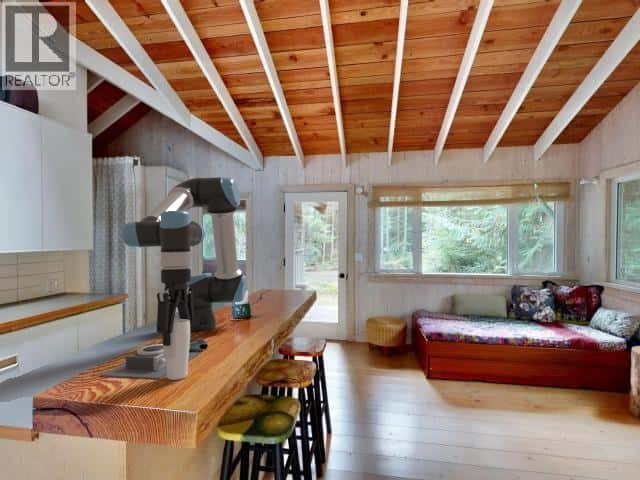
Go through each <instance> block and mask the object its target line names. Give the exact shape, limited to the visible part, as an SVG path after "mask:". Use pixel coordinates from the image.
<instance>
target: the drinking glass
mask: <svg viewBox="0 0 640 480" xmlns="http://www.w3.org/2000/svg"><path fill="white" fill-rule="evenodd" d="M172 332H174V351H175V357H174V358H165V359H166V370H167V375H166V378H167V380H170V381H178V380H182V379H184V378H186V377H188V374H189V361H188V358H189V345H190V339H191V331H190V320H188V319H180V318H177V319H176V318H174V323H173V329H172Z"/></svg>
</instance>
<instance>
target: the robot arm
mask: <svg viewBox="0 0 640 480" xmlns="http://www.w3.org/2000/svg"><path fill="white" fill-rule="evenodd" d="M240 196H241V195H240V190H239V186H238V184H237V182H236V180H235V179H234V178H232V177H224V176H222V177H221V176H219V177H194V178H191V179H190V178H189V179H186V180H183V182H180V183H179V184H177V185H175V186H173V188H171V189H170V190H169V191H168V193H167V197H165V198H164V199H163V200H162V201H161V202H160V203H159V204H158V205H156V206H155V208H153V209H152V210H151V211H150V212H149V213H148V214H147V215H145V217H143V218H142V219H141V220H140V221H136V220H134V221H130V222H129V221H128V222H126V223H125V224H124V225H123V226H122V227H123V228H122V232H121V233H122V235H121V236H122V239H123V242H124V243H125V245H126V246H128V247H131V248H132V247H133V248H147V247H149V248H150V247H160V267H161V268H162V269H161V270H160V283H162V284H164V285H165V286H164V289H163V292H157V294H156V298H157V313H156V314H157V315H156V332H157V333H159V334H162V342H163V358H174V357H175V351H174V332H172V329H173V323H174V320H175V316H176V311H178V316H179V319H188V320H190V332H200V331H201V332H202V331H208V330H211V329H214V328H216V327H217V323H218V322H217V318H216V316H215V313H214V310H213V304H223V303H225V304H226V303H231V304H234V303H241V302H243V301H244V298H245V296H246V293H247V291H246V290H247V283H248V282H247V279H248V278H247V276H246V275H244V274H243V271H242V270H241V268H239V264H238V254H237V243H236V242H237V241H236V232H235V222H234V221H235V220H234V214H235V213H236V212H237V208H238V207H239V206H240V205H241V197H240ZM191 208H193V209H194V208H206V212H207V214H208V215H209V216H211V222H212V232H213V242H214V250H215V251H214V252H215V261H216V269H217V270H216V271H215V272H214V275H213V273H212V272H206V273H205V272H204V273H199V274H192V271H191V268H189V267H190V266H191V265H192V264H191V263H192V262H191V258H192V257H191V247H195V246H198V245H200V244H201V243H202V242H203V241H204V240H205V237H206V232H205V228H204V227H203V226H202V224H200V223H198V222H196V221H194V220H191V216H190V215H191V214H190V212H188V211H189V210H190V209H191ZM191 274H192V275H191ZM189 349H190V345H189Z"/></svg>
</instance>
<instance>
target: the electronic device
mask: <svg viewBox="0 0 640 480" xmlns="http://www.w3.org/2000/svg"><path fill="white" fill-rule="evenodd" d="M160 344H163V341H162V342H161V343H160ZM202 346H205V347H206V348H205V347H204V348H203V349H202V348H201V347H202ZM208 347H209V343H208V342H207V341H206V340H203V339H196V338H195V339H193V338H190V349H189V352H198V353H200V352H204V351H205V350H206V349H207V348H208ZM199 351H200V352H199Z"/></svg>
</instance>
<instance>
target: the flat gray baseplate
mask: <svg viewBox="0 0 640 480" xmlns="http://www.w3.org/2000/svg"><path fill="white" fill-rule="evenodd" d="M199 354H200V355H201V354H202V352H189V358H188V362H190V361H192V360H193V359H195V358H196V357H198V356H199ZM194 357H195V358H194ZM191 359H192V360H191ZM189 360H190V361H189ZM99 376H100V377H108V378H124V377H132V378H131V379H144V378H148V379H147V380H161V379H162V378H164V377H165V376H166V377H167V370H166V359H165V358H163V344H161V343H157V344H156V343H155V344H149V345H144V346H143V347H142V346H141V347H139V348H138V349H137V350H136V352H133V353H131V354H129V355H126V356H125V363H122V364H120V365H118V366H115V367H114V368H112V369H109V370H107V371H105V372H103V373H101V374H100V375H99Z"/></svg>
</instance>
